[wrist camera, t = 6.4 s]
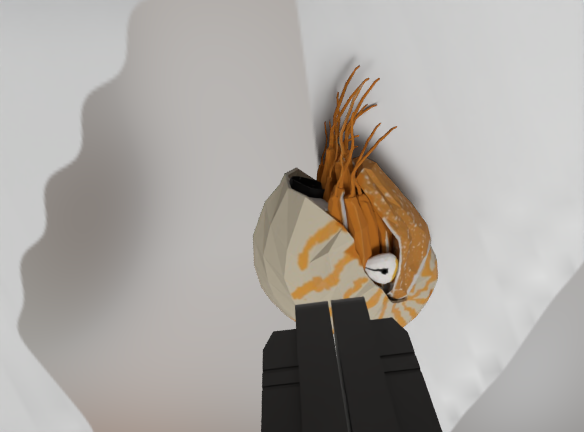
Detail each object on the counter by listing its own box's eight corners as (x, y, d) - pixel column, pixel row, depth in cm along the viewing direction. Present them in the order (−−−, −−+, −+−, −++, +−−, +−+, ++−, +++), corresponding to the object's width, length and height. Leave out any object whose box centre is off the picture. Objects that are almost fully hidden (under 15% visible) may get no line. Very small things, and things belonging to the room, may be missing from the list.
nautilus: (274, 48, 37) (470, 78, 39) (239, 300, 46) (402, 313, 48) (282, 66, 30) (521, 101, 32) (240, 361, 39) (431, 372, 41)
